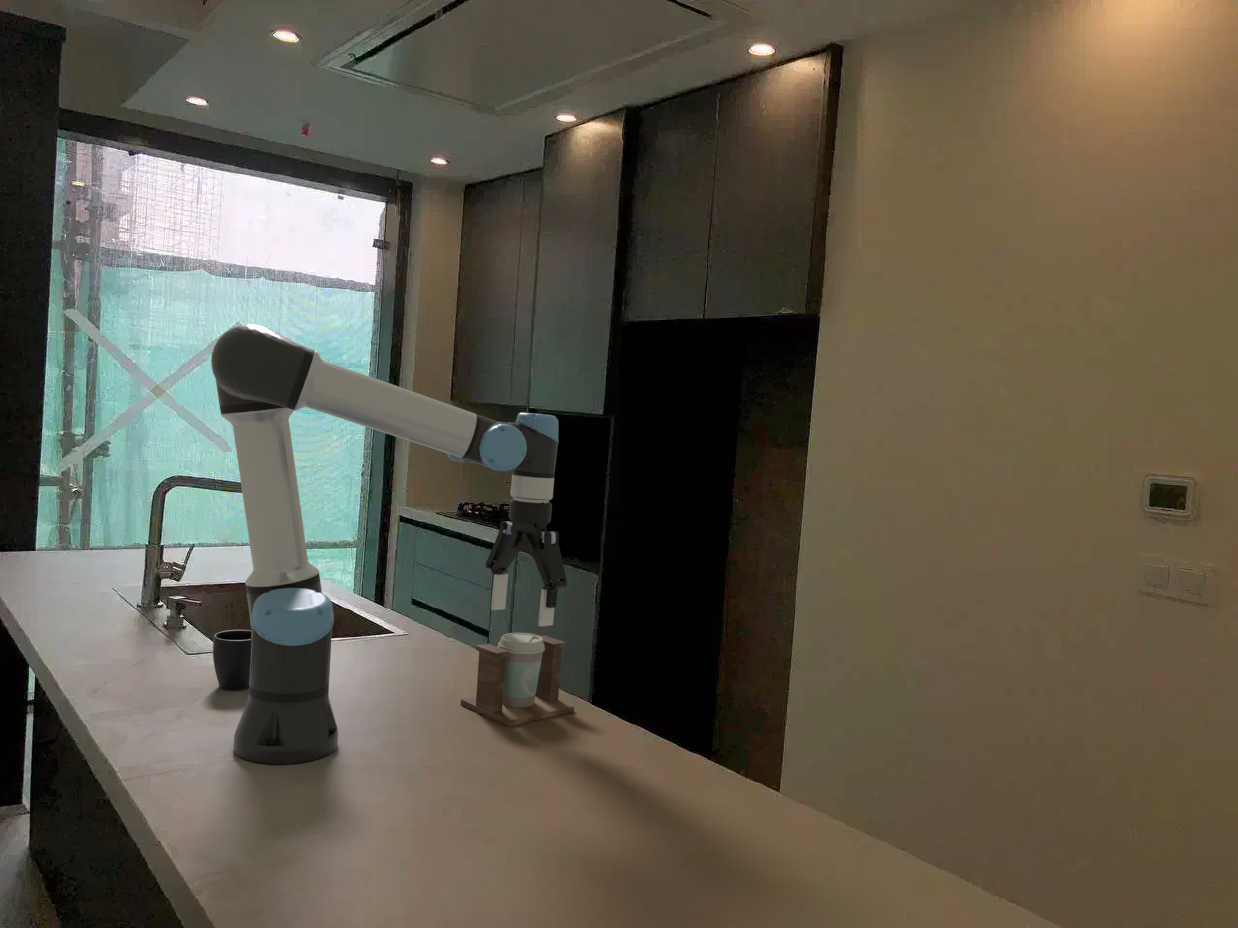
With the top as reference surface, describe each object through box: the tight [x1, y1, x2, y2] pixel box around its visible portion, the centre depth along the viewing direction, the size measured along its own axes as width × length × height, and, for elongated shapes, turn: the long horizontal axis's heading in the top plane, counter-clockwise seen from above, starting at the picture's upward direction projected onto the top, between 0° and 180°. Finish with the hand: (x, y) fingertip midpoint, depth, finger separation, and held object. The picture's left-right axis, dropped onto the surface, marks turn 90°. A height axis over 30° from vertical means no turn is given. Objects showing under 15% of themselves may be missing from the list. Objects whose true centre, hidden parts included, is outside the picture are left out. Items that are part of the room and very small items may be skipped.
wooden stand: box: [460, 634, 575, 727], centre depth 176 cm, size 16×14×12 cm
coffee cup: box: [497, 632, 545, 708], centre depth 176 cm, size 8×8×12 cm
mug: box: [212, 629, 251, 692], centre depth 179 cm, size 8×12×10 cm
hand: (521, 617), depth 175 cm, fingers open, 13 cm apart
